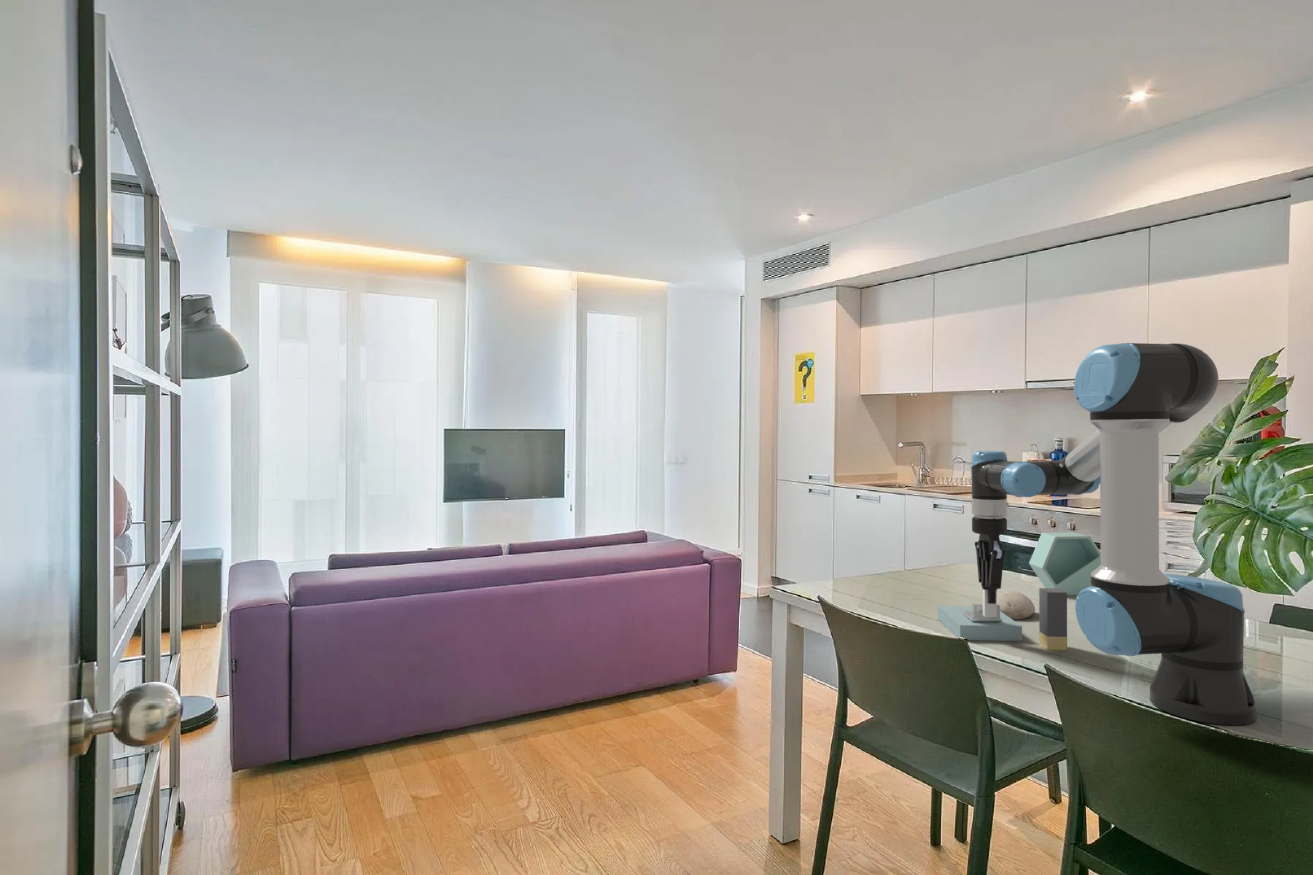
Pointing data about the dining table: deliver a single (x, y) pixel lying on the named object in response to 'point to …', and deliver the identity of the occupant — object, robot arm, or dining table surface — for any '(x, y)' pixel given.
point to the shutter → (981, 614)
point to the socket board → (978, 625)
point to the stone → (1015, 605)
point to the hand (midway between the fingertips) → (989, 615)
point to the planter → (1065, 561)
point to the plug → (1053, 618)
